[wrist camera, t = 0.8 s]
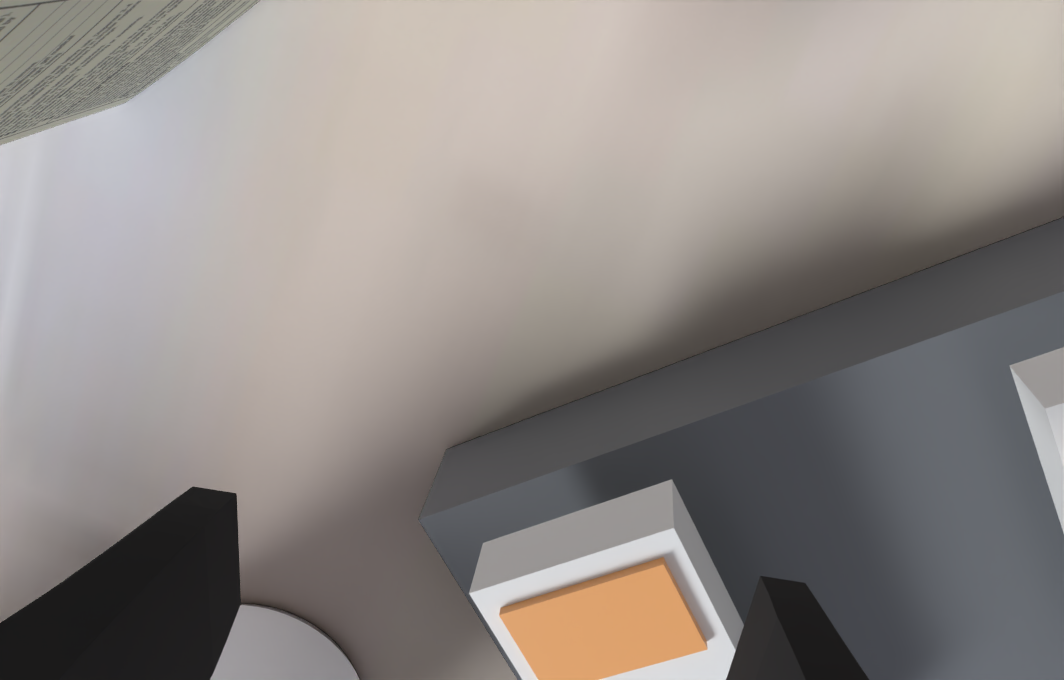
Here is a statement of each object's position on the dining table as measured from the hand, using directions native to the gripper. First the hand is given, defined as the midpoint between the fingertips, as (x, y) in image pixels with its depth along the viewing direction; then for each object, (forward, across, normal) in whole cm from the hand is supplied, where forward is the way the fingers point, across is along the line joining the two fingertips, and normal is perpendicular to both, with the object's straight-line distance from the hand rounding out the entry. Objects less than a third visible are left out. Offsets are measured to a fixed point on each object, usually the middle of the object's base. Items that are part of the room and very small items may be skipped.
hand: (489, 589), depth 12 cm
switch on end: (+4, -4, +6) cm, 8 cm away
